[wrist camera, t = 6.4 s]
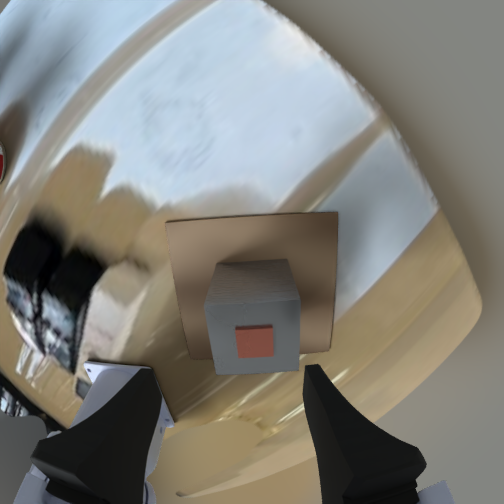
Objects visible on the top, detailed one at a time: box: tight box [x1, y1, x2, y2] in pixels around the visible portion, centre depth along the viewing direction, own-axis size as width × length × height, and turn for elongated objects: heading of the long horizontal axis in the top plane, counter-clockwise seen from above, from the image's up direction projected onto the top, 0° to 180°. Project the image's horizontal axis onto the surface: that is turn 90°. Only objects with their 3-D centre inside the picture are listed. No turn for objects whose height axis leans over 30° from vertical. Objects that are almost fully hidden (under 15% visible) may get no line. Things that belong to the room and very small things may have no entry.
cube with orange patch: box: [204, 259, 301, 375], centre depth 18 cm, size 5×5×6 cm
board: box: [165, 212, 338, 359], centre depth 21 cm, size 12×12×3 cm
